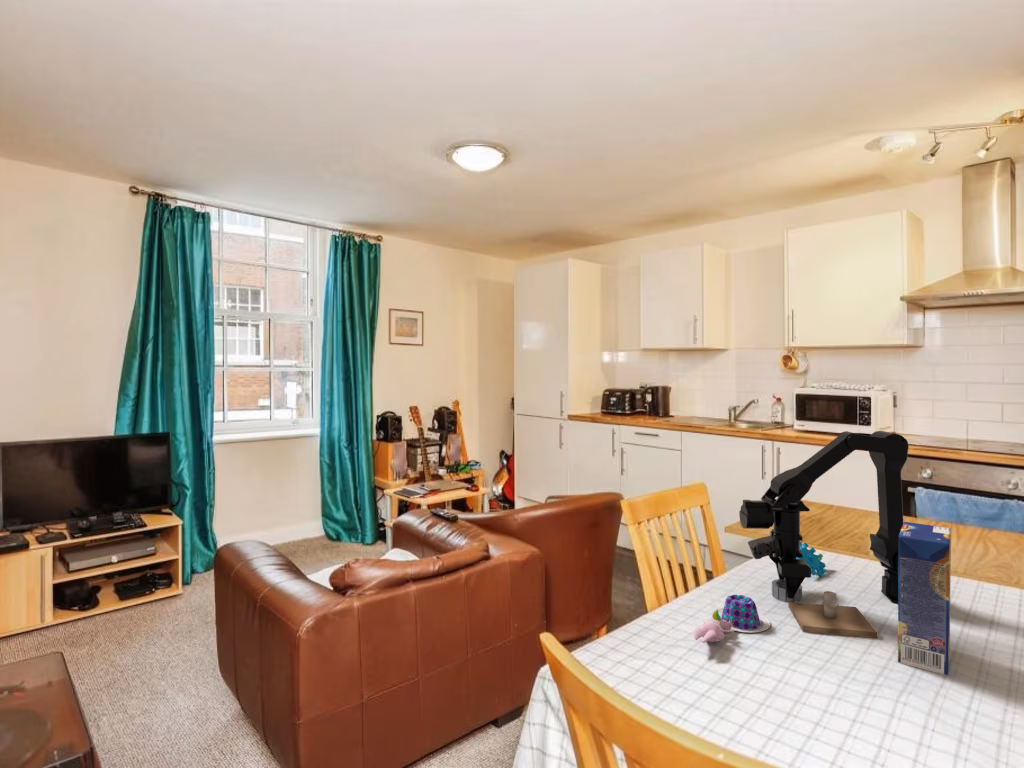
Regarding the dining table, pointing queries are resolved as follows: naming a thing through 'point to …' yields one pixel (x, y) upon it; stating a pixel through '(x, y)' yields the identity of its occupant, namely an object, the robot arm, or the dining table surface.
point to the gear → (812, 560)
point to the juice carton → (924, 596)
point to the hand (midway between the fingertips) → (786, 592)
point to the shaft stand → (831, 618)
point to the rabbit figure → (713, 629)
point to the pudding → (742, 613)
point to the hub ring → (784, 591)
